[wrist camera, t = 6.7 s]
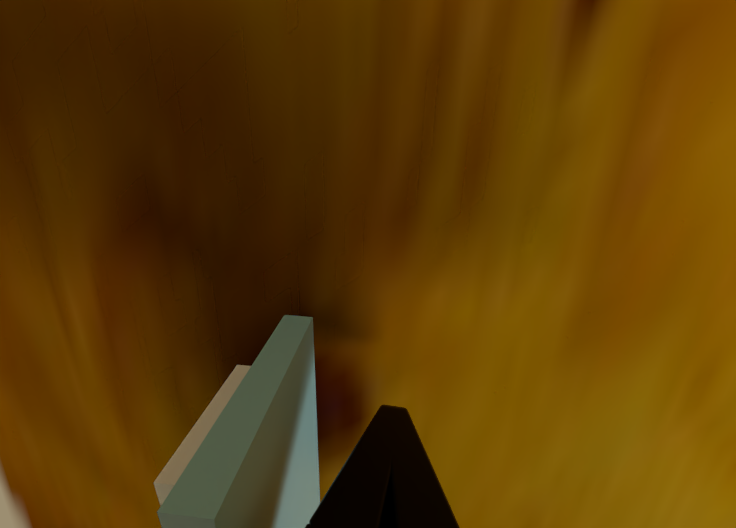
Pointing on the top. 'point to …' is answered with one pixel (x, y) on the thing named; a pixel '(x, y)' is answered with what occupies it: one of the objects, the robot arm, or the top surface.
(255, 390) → the side door
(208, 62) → the top surface
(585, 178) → the top surface
